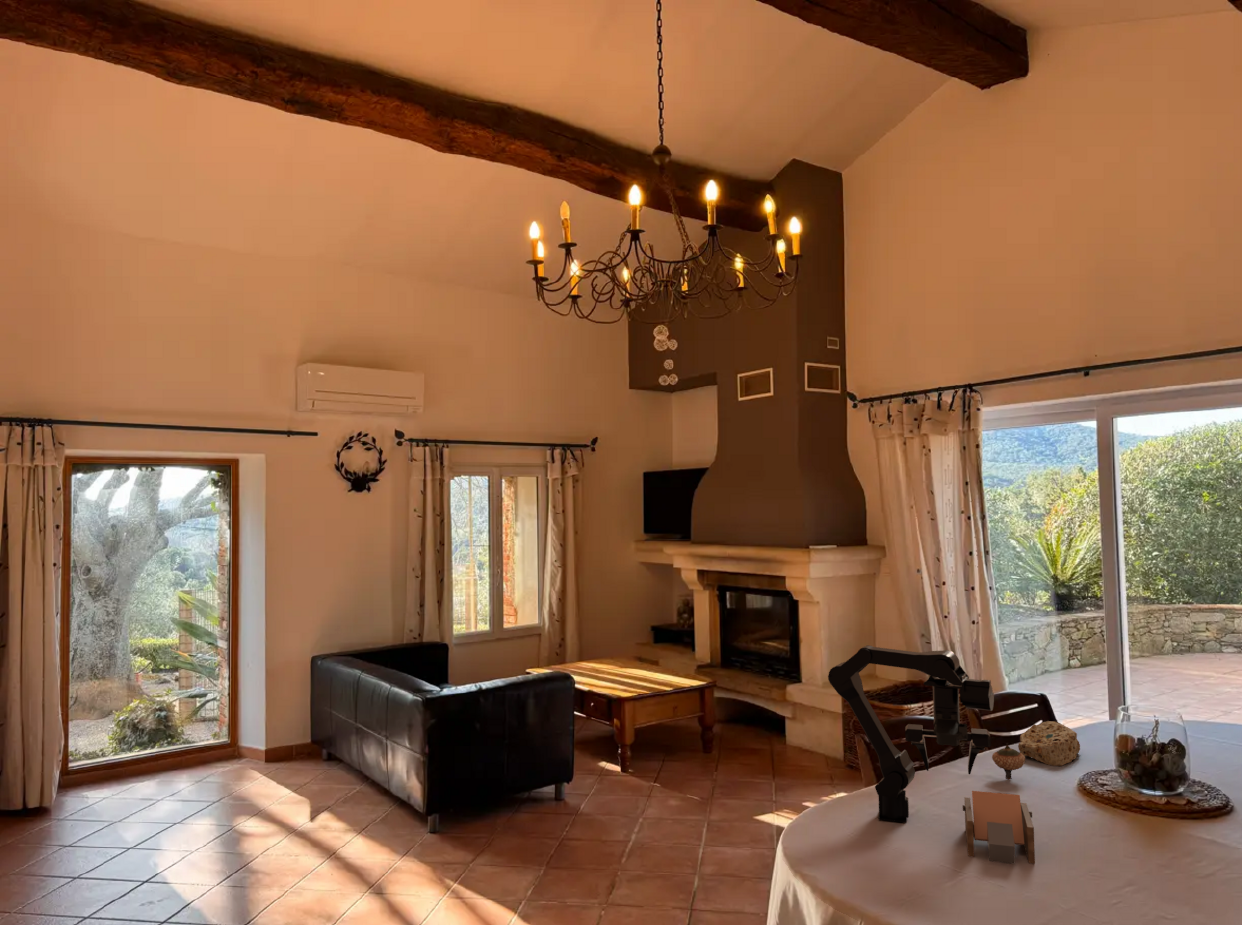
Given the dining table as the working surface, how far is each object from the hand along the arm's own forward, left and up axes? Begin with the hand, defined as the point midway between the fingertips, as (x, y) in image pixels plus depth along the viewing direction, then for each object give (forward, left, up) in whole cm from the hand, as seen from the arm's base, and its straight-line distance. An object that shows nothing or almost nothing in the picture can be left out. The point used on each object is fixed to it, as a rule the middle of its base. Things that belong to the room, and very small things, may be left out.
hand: (948, 772), depth 204 cm
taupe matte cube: (+10, -12, -8) cm, 18 cm away
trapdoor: (+10, -4, -10) cm, 15 cm away
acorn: (+16, +40, -13) cm, 45 cm away
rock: (+29, +67, -14) cm, 74 cm away
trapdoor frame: (+10, -8, -13) cm, 18 cm away
